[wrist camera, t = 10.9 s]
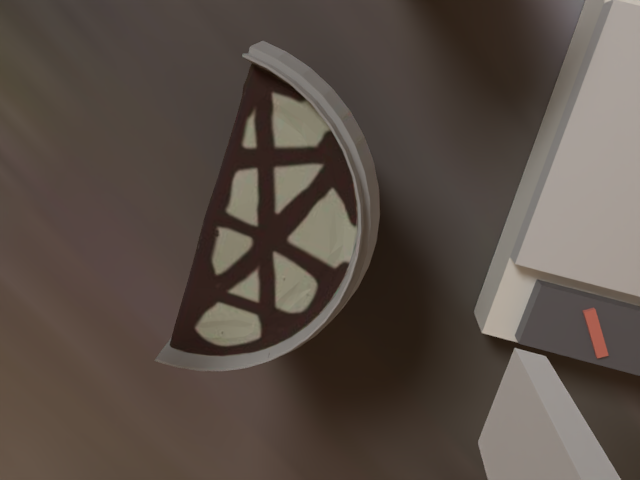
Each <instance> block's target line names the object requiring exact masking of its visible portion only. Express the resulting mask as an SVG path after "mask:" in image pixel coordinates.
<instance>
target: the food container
mask: <svg viewBox="0 0 640 480" xmlns="http://www.w3.org/2000/svg"><path fill="white" fill-rule="evenodd" d="M242 57H244V58H245V59H247V60H248V61H249V62H251V63H252V64H251V67H250V69H249V73H248V77H247V79H246V81H245V84H244V87H243V94H242V99H241V103H240V106H239V110H238V114H237V117H236V120H235V123H234V127H233V130H232V133H231V137H230V140H229V143H228V146H227V150H226V153H225V156H224V159H223V163H222V166H221V169H220V172H219V175H218V179H217V182H216V185H215V188H214V191H213V194H212V197H211V200H210V203H209V206H208V209H207V212H206V215H205V218H204V221H203V225H202V229H201V233H200V237H199V241H198V245H197V249H196V253H195V257H194V261H193V264H192V268H191V271H190V275H189V279H188V282H187V286H186V289H185V293H184V296H183V299H182V303H181V306H180V310H179V313H178V317H177V320H176V324H175V327H174V331H173V334H172V337H171V339H170V340H169V341H168V343H167V344H166V345H165V347H164V348H163V349H162V351H161V352H160V354H159V355H158V356H157V358H156V359H155V361H157V362H160V363H164V364H167V365H170V366H174V367H178V368H185V369H191V370H197V371H227V370H235V369H242V368H248V367H251V366H254V365H258V364H261V363H265V362H268V361H270V360H273V359H276V358H278V357H280V356H283V355H285V354H287V353H289V352H291V351H293V350H295V349H297V348H299V347H300V346H302V345H303V344H305V343H306V342H307V341H309V340H310V339H312V338H313V337H315V336H316V335H317V334H318V333H319V332H320V331H321V330H323V329H324V328H325V327H326V326H327V325H328V324H329V323H330V322H331V321H332V320H333V319H334V318H335V317H336V316H337V314H338V313H339V312H340V311H341V310H342V309H343V307H344V306H345V305H346V303H347V302H348V301H349V299H350V298H351V297H352V295H353V294H354V293H355V291H356V290H357V288H358V287H359V285H360V283H361V281H362V279H363V277H364V275H365V273H366V271H367V269H368V267H369V264H370V261H371V258H372V255H373V251H374V248H375V245H376V242H377V234H378V227H379V219H380V202H379V186H378V181H377V176H376V171H375V166H374V161H373V159H372V156H371V153H370V151H369V148H368V145H367V142H366V140H365V137H364V135H363V133H362V131H361V129H360V128H359V126H358V124H357V122H356V120H355V119H354V117H353V115H352V113H351V111H350V110H349V109H348V108H347V106H346V105H345V104H344V102H343V101H342V100H341V99H340V97H339V96H338V95H337V94H336V92H335V91H334V90H333V88H332V87H330V86H329V85H328V84H327V83H326V82H325V81H324V80H323V79H322V78H321V77H320V76H319V75H318V74H317V73H315V72H314V71H313V70H312V69H311V68H310V67H308V66H307V65H305V64H304V63H302V62H301V61H299V60H298V59H296V58H295V57H293V56H292V55H290V54H289V53H287V52H286V51H284V50H281V49H279V48H277V47H275V46H273V45H271V44H269V43H266V42H264V41H261V42H259V43H257V44H254V45H252V46H250V49H249V53H248V54H243V55H242Z"/></svg>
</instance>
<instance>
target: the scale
mask: <svg viewBox="0 0 640 480" xmlns="http://www.w3.org/2000/svg"><path fill="white" fill-rule="evenodd" d="M474 314H475V316H476V319H477V322H478V324H479V327H480V329H481V332H482V333H484V334H487V335H491V336H495V337H499V338H502V339H506V340H510V341H514V342H517V343H519V344H522V345H526V346H529V347H533V348H537V349H541V350H544V351H548V352H552V353H556V354H559V355H563V356H567V357H571V358H574V359H578V360H582V361H586V362H589V363H593V364H597V365H601V366H604V367H608V368H612V369H615V370H619V371H623V372H627V373H630V374H634V375H638V376H640V0H585V3H584V6H583V9H582V12H581V14H580V17H579V20H578V23H577V25H576V28H575V31H574V34H573V37H572V39H571V42H570V45H569V48H568V51H567V53H566V56H565V59H564V62H563V64H562V67H561V70H560V73H559V76H558V78H557V81H556V84H555V87H554V90H553V92H552V95H551V98H550V101H549V103H548V106H547V109H546V112H545V115H544V117H543V120H542V123H541V126H540V128H539V131H538V134H537V137H536V140H535V142H534V145H533V148H532V151H531V154H530V156H529V159H528V162H527V165H526V167H525V170H524V173H523V176H522V179H521V181H520V184H519V187H518V190H517V192H516V195H515V198H514V201H513V204H512V206H511V209H510V212H509V215H508V218H507V220H506V223H505V226H504V229H503V231H502V234H501V237H500V240H499V243H498V245H497V248H496V251H495V254H494V256H493V259H492V262H491V265H490V268H489V270H488V273H487V276H486V279H485V282H484V284H483V287H482V290H481V293H480V295H479V298H478V301H477V304H476V307H475V309H474Z"/></svg>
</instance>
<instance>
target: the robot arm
mask: <svg viewBox="0 0 640 480" xmlns="http://www.w3.org/2000/svg"><path fill="white" fill-rule="evenodd" d="M478 445H479V448H480V452H481V456H482V460H483V463H484V467H485V471H486V474H487V478H488V480H621V479H620V477H619V475H618V474H617V472H616V471H615V469H614V467H613V466H612V464H611V462H610V461H609V459H608V457H607V456H606V454H605V452H604V451H603V449H602V447H601V446H600V444H599V443H598V441H597V439H596V438H595V436H594V434H593V433H592V431H591V429H590V428H589V426H588V424H587V423H586V421H585V420H584V418H583V416H582V415H581V413H580V411H579V410H578V408H577V406H576V405H575V403H574V401H573V400H572V398H571V397H570V395H569V393H568V392H567V390H566V388H565V387H564V385H563V383H562V382H561V380H560V378H559V377H558V375H557V373H556V372H555V370H554V369H553V367H552V365H551V364H550V362H549V360H548V359H547V357H546V356H543V355H540V354H536V353H532V352H528V351H525V350H521V349H517V348H514V350H513V353H512V356H511V358H510V361H509V363H508V366H507V368H506V371H505V374H504V376H503V379H502V381H501V384H500V386H499V389H498V392H497V394H496V397H495V399H494V402H493V404H492V407H491V410H490V412H489V415H488V417H487V420H486V422H485V425H484V428H483V430H482V433H481V435H480V438H479V440H478Z"/></svg>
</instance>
